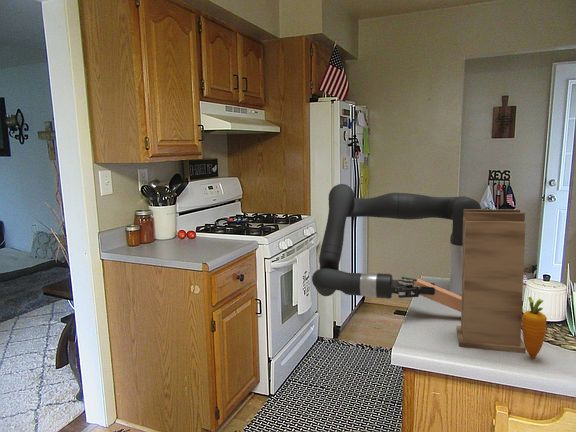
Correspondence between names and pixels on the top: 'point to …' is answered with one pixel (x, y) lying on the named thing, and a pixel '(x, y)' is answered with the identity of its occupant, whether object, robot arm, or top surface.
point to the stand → (492, 279)
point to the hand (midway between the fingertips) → (434, 288)
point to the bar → (442, 295)
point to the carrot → (533, 328)
